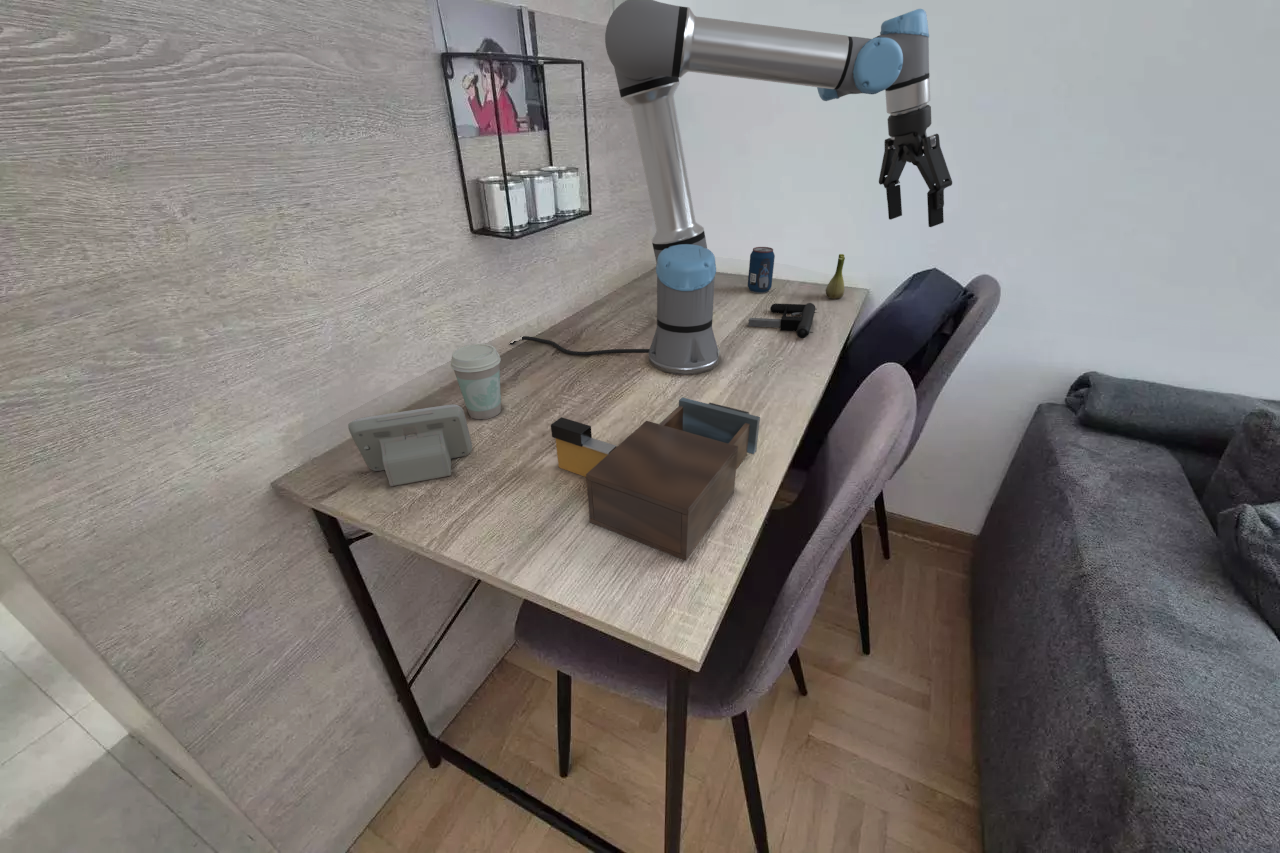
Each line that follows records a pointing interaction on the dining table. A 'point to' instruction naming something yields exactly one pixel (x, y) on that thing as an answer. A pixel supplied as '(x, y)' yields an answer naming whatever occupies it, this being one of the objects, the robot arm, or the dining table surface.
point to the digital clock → (413, 442)
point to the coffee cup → (478, 379)
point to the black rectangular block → (578, 435)
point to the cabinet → (662, 487)
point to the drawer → (717, 424)
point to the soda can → (761, 269)
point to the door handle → (789, 318)
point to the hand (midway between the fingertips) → (914, 221)
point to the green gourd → (836, 281)
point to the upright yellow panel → (577, 457)
